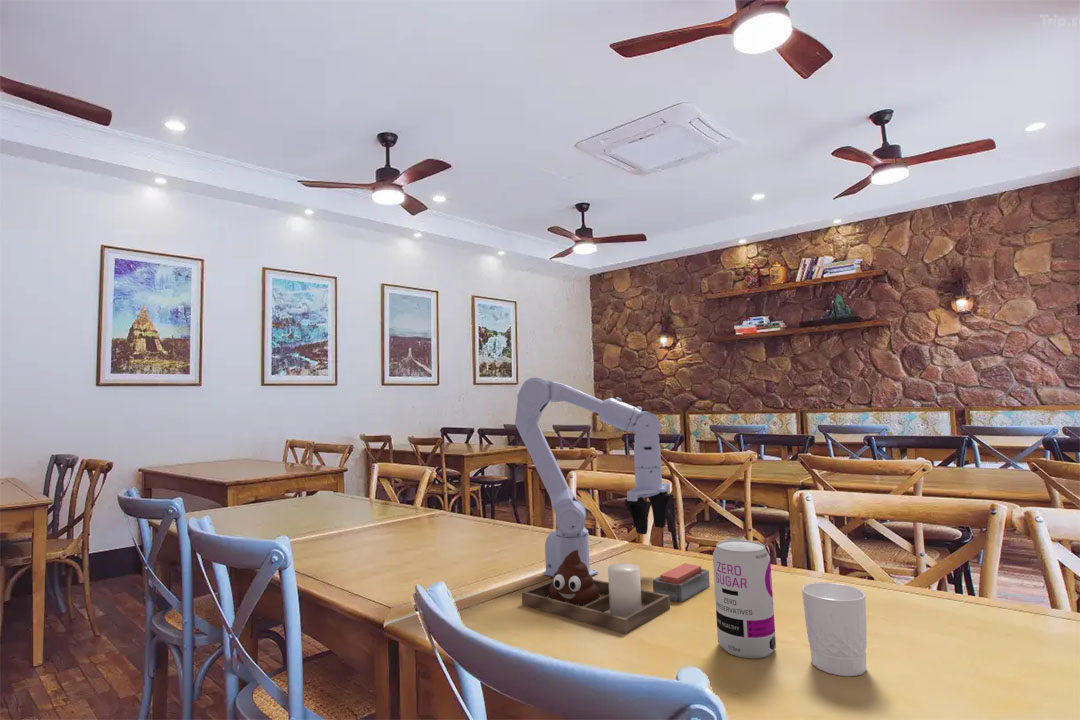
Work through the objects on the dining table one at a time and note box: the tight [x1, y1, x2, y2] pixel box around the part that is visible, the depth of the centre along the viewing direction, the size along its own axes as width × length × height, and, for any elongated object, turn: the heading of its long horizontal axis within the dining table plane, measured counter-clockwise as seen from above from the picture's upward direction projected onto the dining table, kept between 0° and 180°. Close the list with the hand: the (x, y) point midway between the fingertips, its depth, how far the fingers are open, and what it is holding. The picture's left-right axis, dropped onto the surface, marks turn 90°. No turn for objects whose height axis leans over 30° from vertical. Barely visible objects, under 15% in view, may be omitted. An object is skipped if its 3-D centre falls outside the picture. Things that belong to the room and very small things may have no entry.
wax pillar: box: [607, 563, 643, 617], centre depth 100 cm, size 6×6×8 cm
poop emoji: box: [548, 550, 601, 606], centre depth 109 cm, size 10×8×9 cm
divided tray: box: [521, 578, 671, 635], centre depth 105 cm, size 23×14×2 cm, turn 48°
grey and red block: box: [652, 568, 711, 603], centre depth 112 cm, size 6×12×3 cm, turn 138°
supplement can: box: [712, 540, 777, 659], centre depth 85 cm, size 8×8×15 cm
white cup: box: [801, 582, 867, 677], centre depth 79 cm, size 8×8×10 cm
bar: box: [659, 563, 702, 584], centre depth 112 cm, size 4×10×3 cm, turn 138°
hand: (651, 530), depth 123 cm, fingers open, 7 cm apart
